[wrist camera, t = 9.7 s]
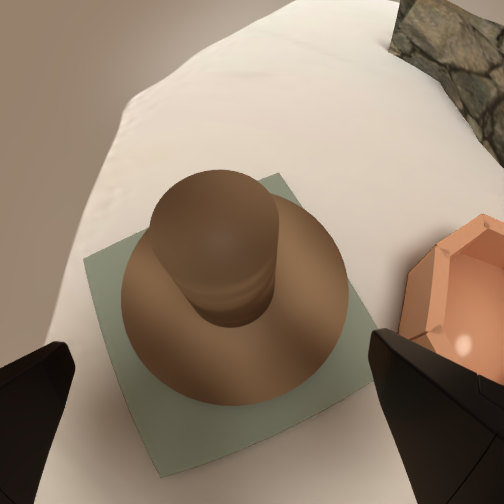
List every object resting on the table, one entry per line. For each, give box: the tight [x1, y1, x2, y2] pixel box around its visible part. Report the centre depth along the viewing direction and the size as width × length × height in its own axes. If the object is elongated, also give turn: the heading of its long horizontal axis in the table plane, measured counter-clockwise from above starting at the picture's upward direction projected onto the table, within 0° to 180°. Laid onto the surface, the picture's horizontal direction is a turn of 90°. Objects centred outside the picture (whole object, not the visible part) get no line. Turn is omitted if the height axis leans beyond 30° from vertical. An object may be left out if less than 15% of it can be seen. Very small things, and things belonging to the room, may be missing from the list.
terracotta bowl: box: [398, 214, 504, 386], centre depth 16 cm, size 12×12×4 cm
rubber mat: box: [83, 173, 378, 478], centre depth 19 cm, size 15×15×1 cm
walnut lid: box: [121, 170, 349, 406], centre depth 15 cm, size 13×13×8 cm
